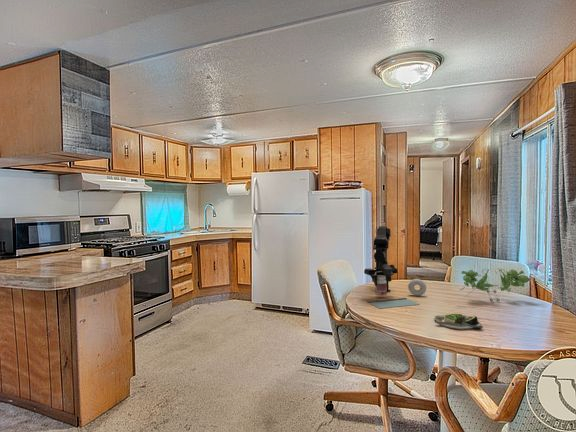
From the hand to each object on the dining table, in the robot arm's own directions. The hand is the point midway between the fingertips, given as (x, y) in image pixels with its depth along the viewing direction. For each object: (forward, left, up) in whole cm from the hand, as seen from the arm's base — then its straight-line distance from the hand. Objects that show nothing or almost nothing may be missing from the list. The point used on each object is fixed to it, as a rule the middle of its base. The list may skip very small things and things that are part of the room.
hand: (381, 285), depth 189 cm
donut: (+3, +22, -7) cm, 23 cm away
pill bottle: (0, 0, -6) cm, 6 cm away
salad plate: (+48, +10, -7) cm, 50 cm away
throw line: (+7, 0, -7) cm, 9 cm away
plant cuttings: (+23, +54, -7) cm, 59 cm away
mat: (+14, 0, -7) cm, 15 cm away
